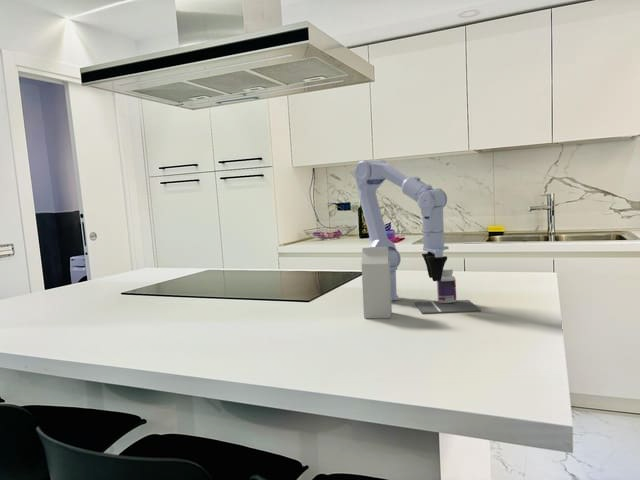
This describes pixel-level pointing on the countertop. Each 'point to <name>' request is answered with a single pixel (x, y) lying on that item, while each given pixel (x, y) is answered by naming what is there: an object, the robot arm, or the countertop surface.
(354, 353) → the countertop surface
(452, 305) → the mat
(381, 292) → the milk carton
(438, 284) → the pill bottle
